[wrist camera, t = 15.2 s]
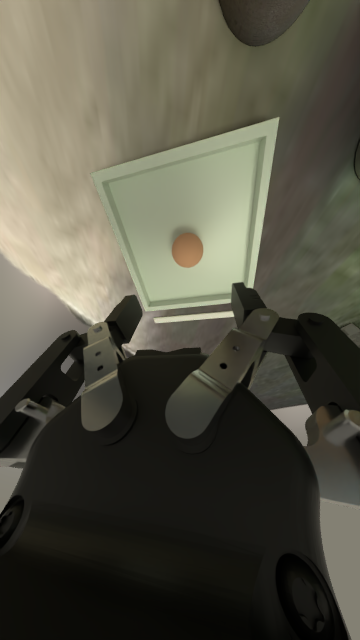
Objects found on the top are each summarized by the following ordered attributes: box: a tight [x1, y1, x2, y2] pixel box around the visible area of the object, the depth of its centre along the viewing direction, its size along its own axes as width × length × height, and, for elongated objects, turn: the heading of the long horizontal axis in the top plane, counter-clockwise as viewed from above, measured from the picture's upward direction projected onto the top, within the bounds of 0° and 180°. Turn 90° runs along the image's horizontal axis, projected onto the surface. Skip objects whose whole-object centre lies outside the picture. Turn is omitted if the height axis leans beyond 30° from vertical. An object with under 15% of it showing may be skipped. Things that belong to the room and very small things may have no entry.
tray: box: [90, 117, 279, 311], centre depth 24 cm, size 22×22×3 cm
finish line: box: [154, 311, 234, 323], centre depth 35 cm, size 22×2×1 cm, turn 100°
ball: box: [172, 233, 203, 268], centre depth 23 cm, size 5×5×5 cm
